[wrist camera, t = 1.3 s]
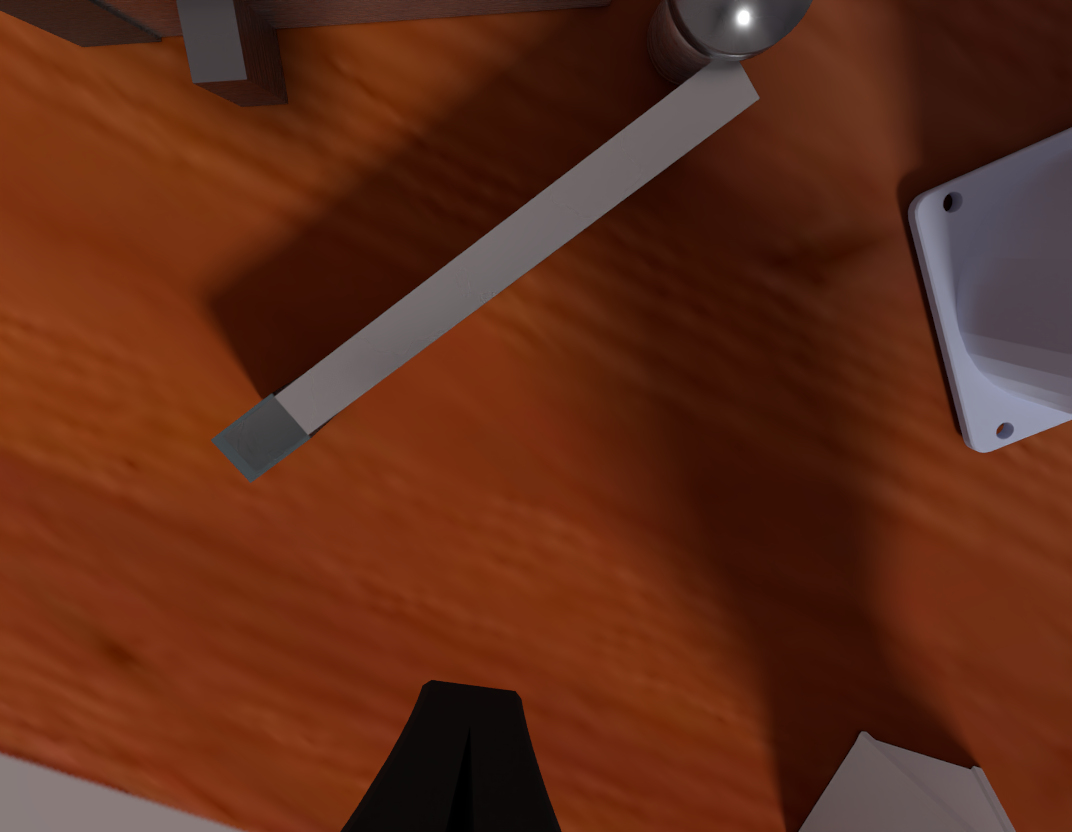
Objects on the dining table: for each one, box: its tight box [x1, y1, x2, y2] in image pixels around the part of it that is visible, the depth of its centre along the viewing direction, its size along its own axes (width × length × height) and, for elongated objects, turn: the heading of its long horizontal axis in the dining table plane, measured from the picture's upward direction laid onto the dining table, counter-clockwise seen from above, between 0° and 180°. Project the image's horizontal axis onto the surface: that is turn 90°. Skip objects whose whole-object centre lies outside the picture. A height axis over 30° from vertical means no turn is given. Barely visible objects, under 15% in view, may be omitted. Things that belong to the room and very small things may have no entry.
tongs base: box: [0, 0, 812, 107], centre depth 13 cm, size 17×4×4 cm, turn 94°
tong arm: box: [211, 0, 760, 483], centre depth 15 cm, size 16×3×3 cm, turn 126°
